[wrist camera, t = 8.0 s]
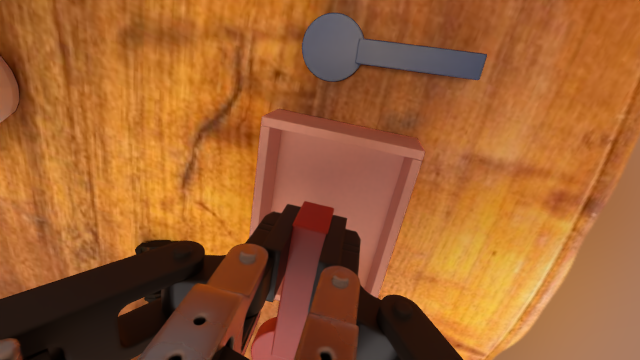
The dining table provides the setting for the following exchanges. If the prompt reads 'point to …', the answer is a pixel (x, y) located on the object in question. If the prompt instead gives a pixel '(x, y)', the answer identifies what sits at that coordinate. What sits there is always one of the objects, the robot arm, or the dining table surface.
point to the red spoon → (295, 285)
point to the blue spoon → (377, 53)
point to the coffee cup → (7, 91)
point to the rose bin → (339, 180)
